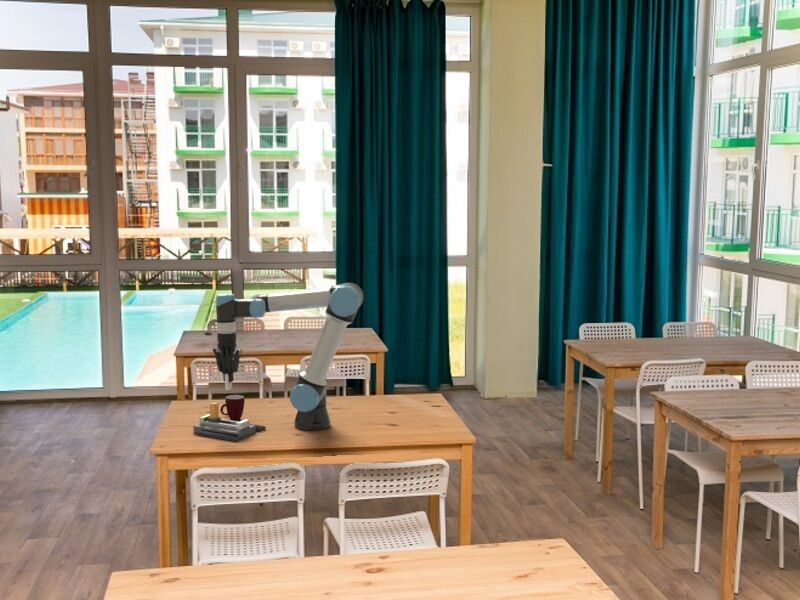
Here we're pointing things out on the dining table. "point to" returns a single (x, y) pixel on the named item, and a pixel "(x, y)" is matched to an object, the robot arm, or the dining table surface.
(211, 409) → the lever
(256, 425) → the cord
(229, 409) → the mug
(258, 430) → the grey rod
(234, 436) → the cord
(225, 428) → the gray slotted base
